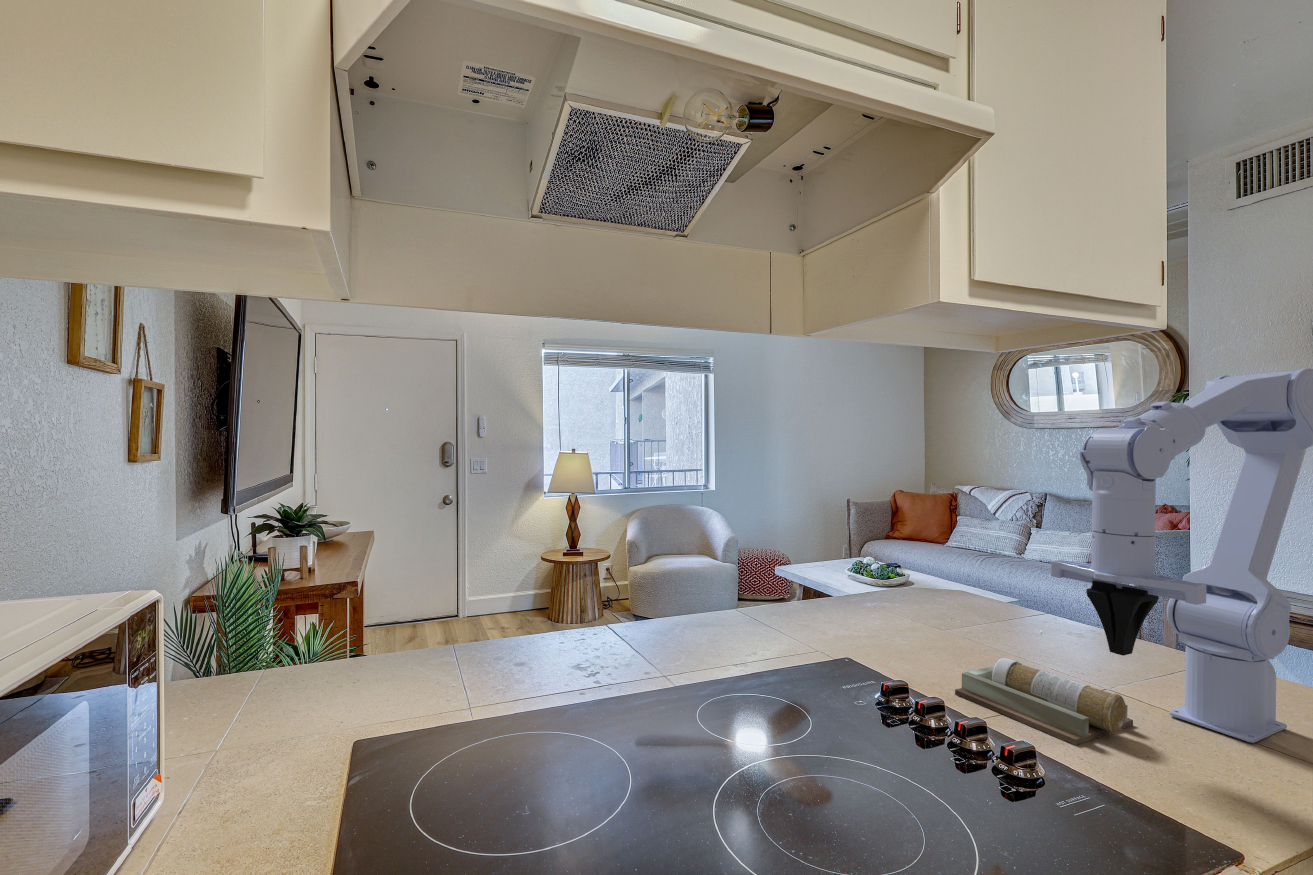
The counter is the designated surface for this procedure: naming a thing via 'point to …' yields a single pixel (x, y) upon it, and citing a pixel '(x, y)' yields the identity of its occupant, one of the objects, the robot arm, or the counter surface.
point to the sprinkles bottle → (1064, 693)
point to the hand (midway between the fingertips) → (1120, 652)
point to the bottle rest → (1029, 708)
